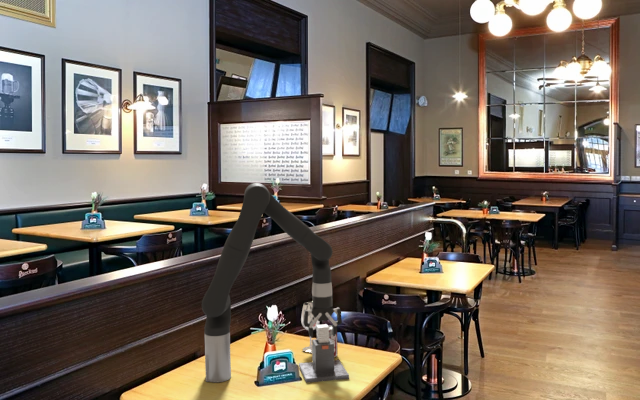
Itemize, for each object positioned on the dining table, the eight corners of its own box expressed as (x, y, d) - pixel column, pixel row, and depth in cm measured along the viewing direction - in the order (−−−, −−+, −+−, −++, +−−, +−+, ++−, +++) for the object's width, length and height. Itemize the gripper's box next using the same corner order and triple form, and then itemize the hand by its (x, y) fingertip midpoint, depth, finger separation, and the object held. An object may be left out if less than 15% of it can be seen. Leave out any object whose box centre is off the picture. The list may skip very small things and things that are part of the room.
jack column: (319, 370, 214) (318, 328, 213) (317, 366, 218) (316, 325, 217) (329, 369, 215) (329, 327, 214) (327, 365, 219) (326, 324, 218)
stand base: (306, 382, 207) (305, 350, 206) (299, 367, 223) (298, 336, 222) (349, 378, 211) (348, 346, 210) (339, 363, 226) (338, 333, 225)
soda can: (318, 357, 233) (317, 328, 232) (325, 352, 239) (325, 324, 238) (333, 360, 230) (332, 330, 229) (340, 355, 236) (339, 326, 235)
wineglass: (299, 348, 245) (298, 302, 243) (317, 346, 247) (316, 300, 246) (304, 354, 237) (303, 306, 236) (322, 352, 240) (321, 305, 238)
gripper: (305, 297, 209) (305, 340, 211) (343, 295, 212) (343, 337, 213) (301, 292, 217) (302, 334, 218) (338, 290, 220) (338, 331, 221)
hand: (322, 336), depth 216 cm, fingers open, 8 cm apart
